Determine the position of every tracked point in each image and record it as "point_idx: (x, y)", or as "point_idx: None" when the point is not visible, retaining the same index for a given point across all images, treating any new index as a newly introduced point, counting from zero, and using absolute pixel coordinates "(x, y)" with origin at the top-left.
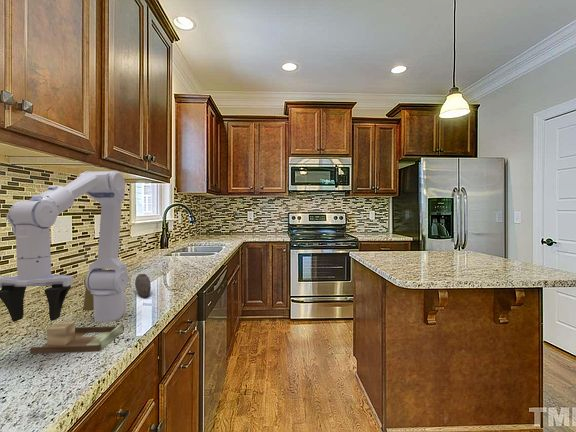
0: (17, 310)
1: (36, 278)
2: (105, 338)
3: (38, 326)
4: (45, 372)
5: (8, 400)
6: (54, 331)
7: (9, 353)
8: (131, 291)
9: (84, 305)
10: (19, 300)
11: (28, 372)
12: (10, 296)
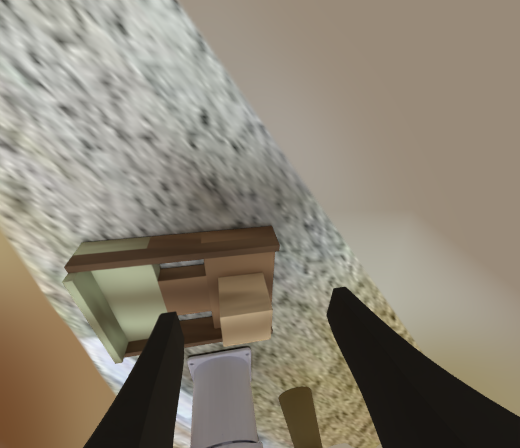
0: (355, 341)
1: None
2: (75, 299)
3: None
4: (177, 165)
5: None
6: (249, 305)
7: (341, 251)
8: (268, 436)
9: (308, 397)
10: (380, 405)
11: (228, 167)
12: (448, 441)
